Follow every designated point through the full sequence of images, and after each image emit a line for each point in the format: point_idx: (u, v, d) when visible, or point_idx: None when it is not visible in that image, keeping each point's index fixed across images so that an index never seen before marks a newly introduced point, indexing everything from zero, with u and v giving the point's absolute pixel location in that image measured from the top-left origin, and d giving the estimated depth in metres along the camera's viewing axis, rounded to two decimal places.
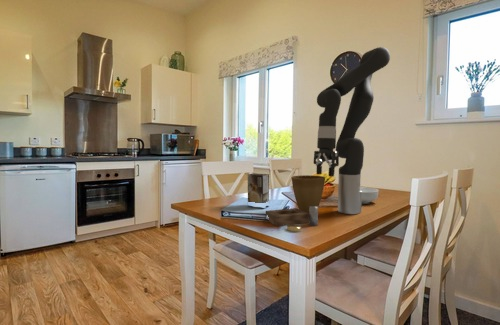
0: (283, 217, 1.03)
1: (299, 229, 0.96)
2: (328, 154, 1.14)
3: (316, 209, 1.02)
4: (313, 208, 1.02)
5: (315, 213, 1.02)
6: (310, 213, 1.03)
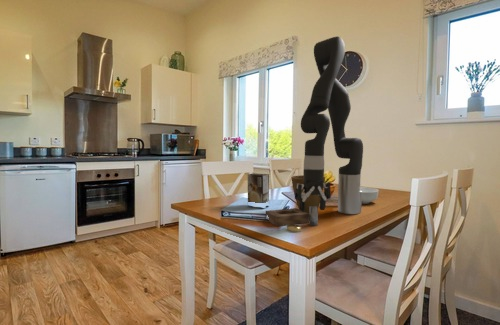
0: (283, 217, 1.03)
1: (299, 229, 0.96)
2: (322, 186, 1.03)
3: (316, 209, 1.02)
4: (313, 208, 1.02)
5: (315, 213, 1.02)
6: (310, 213, 1.03)
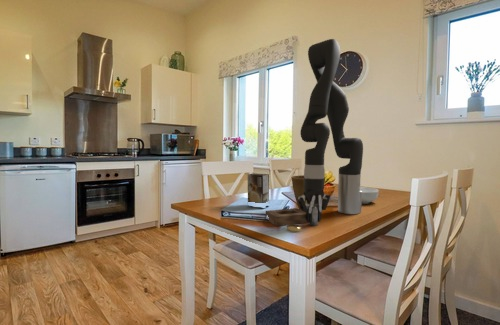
0: (283, 217, 1.03)
1: (299, 229, 0.96)
2: (322, 197, 1.03)
3: (316, 209, 1.02)
4: (313, 208, 1.02)
5: (315, 213, 1.02)
6: None
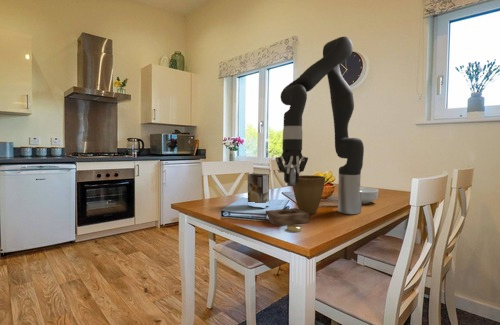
0: (283, 217, 1.03)
1: (299, 229, 0.96)
2: None
3: (294, 170, 1.05)
4: (291, 169, 1.05)
5: (293, 173, 1.05)
6: None
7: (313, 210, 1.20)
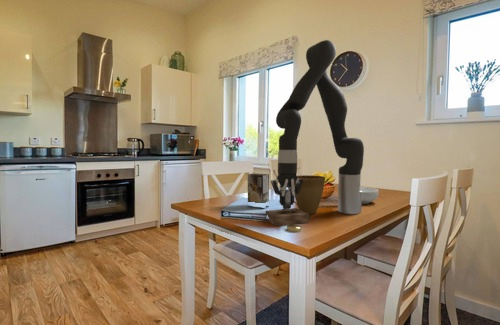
0: (283, 217, 1.03)
1: (299, 229, 0.96)
2: (295, 181, 1.08)
3: (289, 192, 1.07)
4: (286, 191, 1.07)
5: (288, 196, 1.07)
6: None
7: (313, 210, 1.20)
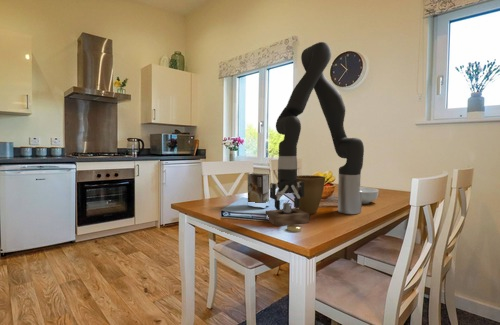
0: (283, 217, 1.03)
1: (299, 229, 0.96)
2: (295, 185, 1.08)
3: (289, 206, 1.07)
4: (286, 205, 1.07)
5: (288, 210, 1.07)
6: (284, 210, 1.08)
7: (313, 210, 1.20)
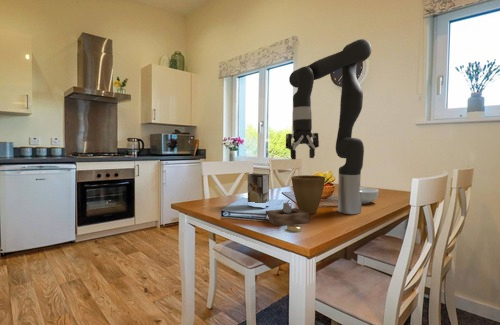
0: (283, 217, 1.03)
1: (299, 229, 0.96)
2: (310, 136, 1.12)
3: (289, 206, 1.07)
4: (286, 205, 1.07)
5: (288, 210, 1.07)
6: (284, 210, 1.08)
7: (313, 210, 1.20)
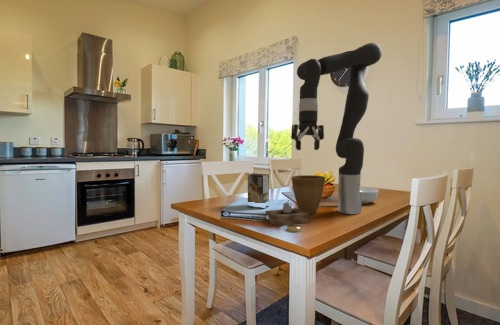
0: (283, 217, 1.03)
1: (299, 229, 0.96)
2: (315, 128, 1.13)
3: (289, 206, 1.07)
4: (286, 205, 1.07)
5: (288, 210, 1.07)
6: (284, 210, 1.08)
7: (313, 210, 1.20)
